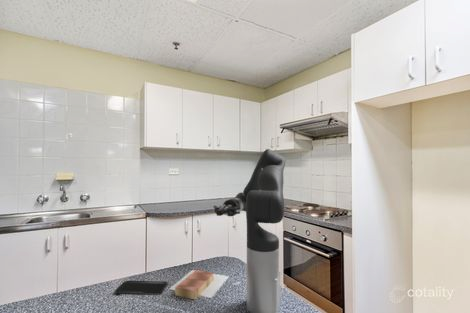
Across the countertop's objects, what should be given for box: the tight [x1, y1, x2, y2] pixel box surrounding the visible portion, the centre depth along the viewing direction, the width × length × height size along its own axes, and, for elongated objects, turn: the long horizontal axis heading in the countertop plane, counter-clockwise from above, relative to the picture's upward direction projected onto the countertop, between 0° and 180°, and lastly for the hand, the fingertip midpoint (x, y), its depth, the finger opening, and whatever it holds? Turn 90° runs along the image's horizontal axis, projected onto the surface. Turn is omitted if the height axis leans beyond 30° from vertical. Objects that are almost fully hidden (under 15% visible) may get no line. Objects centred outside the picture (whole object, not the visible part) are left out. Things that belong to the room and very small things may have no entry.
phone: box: [114, 280, 169, 296], centre depth 79 cm, size 8×1×15 cm
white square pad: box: [169, 269, 230, 299], centre depth 83 cm, size 15×15×1 cm
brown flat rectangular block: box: [174, 269, 215, 301], centre depth 80 cm, size 7×2×13 cm
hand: (218, 213), depth 98 cm, fingers closed
